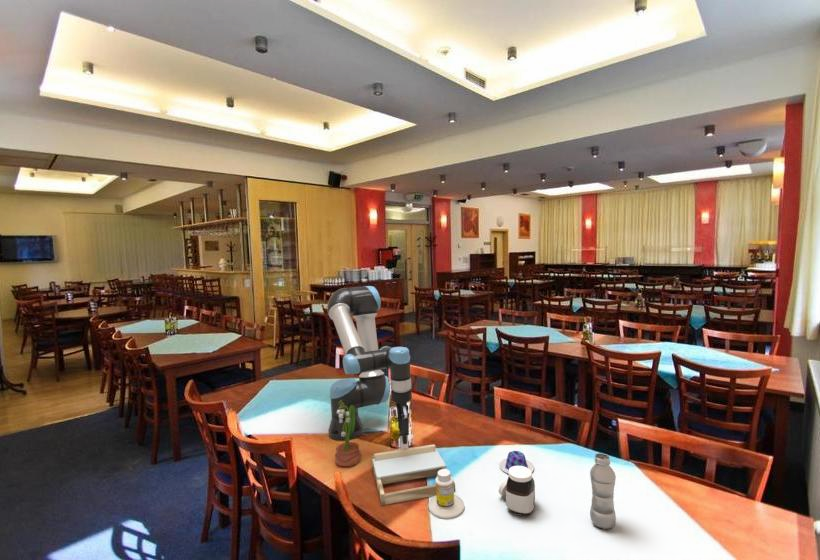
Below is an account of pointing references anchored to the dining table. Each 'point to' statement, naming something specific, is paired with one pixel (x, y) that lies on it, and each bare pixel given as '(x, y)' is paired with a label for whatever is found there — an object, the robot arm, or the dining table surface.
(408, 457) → the lid
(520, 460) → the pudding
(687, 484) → the dining table surface
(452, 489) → the supplement bottle
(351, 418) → the potted flower
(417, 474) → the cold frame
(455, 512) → the saucer
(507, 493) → the spread jar
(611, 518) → the plastic bottle
